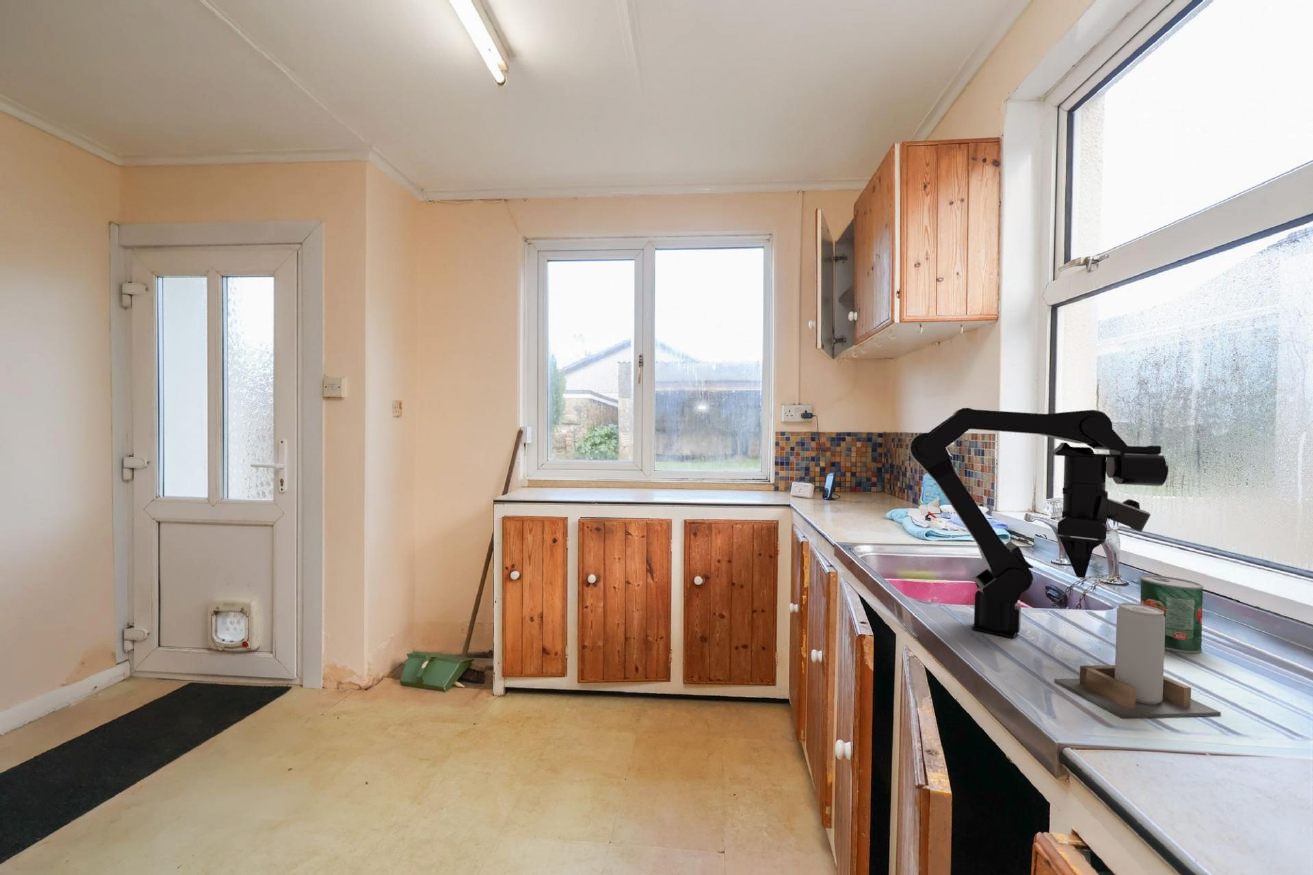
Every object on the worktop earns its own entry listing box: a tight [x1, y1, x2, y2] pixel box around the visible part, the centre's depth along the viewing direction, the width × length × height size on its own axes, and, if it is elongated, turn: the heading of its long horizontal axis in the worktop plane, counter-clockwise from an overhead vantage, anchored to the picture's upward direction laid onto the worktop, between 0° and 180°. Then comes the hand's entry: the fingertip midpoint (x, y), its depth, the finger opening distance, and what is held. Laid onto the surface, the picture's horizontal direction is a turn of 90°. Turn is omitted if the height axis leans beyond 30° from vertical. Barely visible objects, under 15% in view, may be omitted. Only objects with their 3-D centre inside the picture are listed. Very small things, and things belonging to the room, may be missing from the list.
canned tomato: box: [1139, 574, 1204, 654], centre depth 93 cm, size 8×8×11 cm
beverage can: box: [1114, 602, 1165, 705], centre depth 72 cm, size 5×5×12 cm
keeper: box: [1053, 664, 1222, 719], centre depth 73 cm, size 10×14×3 cm
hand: (1081, 572), depth 93 cm, fingers open, 9 cm apart
